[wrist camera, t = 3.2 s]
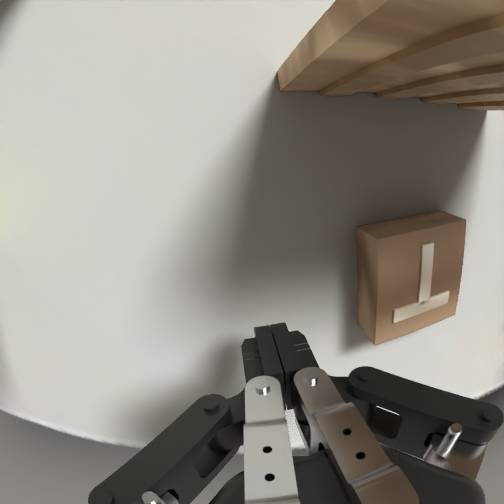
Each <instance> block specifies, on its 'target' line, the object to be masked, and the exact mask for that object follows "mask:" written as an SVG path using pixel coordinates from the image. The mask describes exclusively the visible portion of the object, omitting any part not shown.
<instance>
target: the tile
mask: <svg viewBox="0 0 504 504" xmlns="http://www.w3.org/2000/svg"><path fill="white" fill-rule="evenodd" d="M465 229H466V220H465V219H463V218H460V217H457V216H454V215H452V214H449V213H446V212H443V211H436V212H431V213H425V214H420V215H415V216H410V217H404V218H399V219H394V220H388V221H383V222H378V223H373V224H367V225H362V226H357V227H356V238H357V260H358V325H359V326H360V327H361V329H362V330H363V331H364V332H365V334H366V335H367V336H368V338H369V339H370V340H371V341H372V343H373V344H374V345H378V344H381V343H384V342H387V341H390V340H393V339H395V338H398V337H401V336H404V335H406V334H409V333H412V332H414V331H417V330H419V329H422V328H424V327H427V326H429V325H432V324H434V323H437V322H439V321H442V320H444V319H446V318H449V317H451V316H453V315H455V312H456V306H457V301H458V295H459V288H460V281H461V274H462V265H463V256H464V244H465Z"/></svg>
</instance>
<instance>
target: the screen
mask: <svg viewBox="0 0 504 504" xmlns="http://www.w3.org/2000/svg"><path fill="white" fill-rule="evenodd" d="M277 74H278V81H279V88H280V92H281V91H321V96H349V95H351V94H354V93H356V92H374V93H377V97H379V98H391V99H402V98H407V97H411V96H414V97H421V98H422V102H426V103H433V104H448V103H457V104H458V108H462V109H467V110H504V0H336V1H335V2H334V3H333V4H332V6H331V7H330V8H329V9H328V10H327V11H326V12H325V13H324V15H323V16H322V17H321V18H320V19H319V20H318V22H317V23H316V24H315V25H314V26H313V27H312V29H311V30H310V31H309V32H308V33H307V35H306V36H305V37H304V38H303V39H302V41H301V42H300V43H299V44H298V46H297V47H296V48H295V49H294V51H293V52H292V53H291V54H290V56H289V57H288V58H287V59H286V61H285V62H284V63H283V64H282V66H281V67H280V68H279V70H278V71H277Z"/></svg>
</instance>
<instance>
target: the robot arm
mask: <svg viewBox="0 0 504 504" xmlns="http://www.w3.org/2000/svg"><path fill="white" fill-rule="evenodd" d="M254 332H255V338H250V339H245V340H244V342H243V344H242V346H241V348H242V356H243V363H244V371H245V378H246V386H245V388H244V389H243V391H242V392H241V393H239V394H238V395H236V396H234V397H231V398H229V399H226V398H225V397H223V396H221V395H216V394H211V395H206V396H203V397H201V398H199V399H198V400H197V401H196V402H195V403H194V404H193V405H192V406H190V407H189V408H188V409H187V410H186V411H185V412H184V413H183V414H182V415H181V416H180V417H178V418H177V419H176V420H175V421H174V422H173V423H172V424H171V425H170V426H168V427H167V428H166V429H165V430H164V431H163V432H162V433H161V434H159V435H158V436H157V437H156V438H155V439H154V440H153V441H151V442H150V443H149V444H148V445H147V446H146V447H144V448H143V449H142V450H141V451H140V452H139V453H137V454H136V455H135V456H134V457H133V458H132V459H130V460H129V461H128V462H127V463H125V464H124V465H123V466H122V467H120V468H119V469H118V470H117V471H116V472H114V473H113V474H112V475H111V476H109V477H108V478H107V479H105V480H104V481H103V482H102V483H100V484H99V485H98V486H96V487H95V488H94V489H93V490H92V492H91V493H90V495H89V498H88V503H89V504H190V503H191V502H192V501H193V500H194V499H195V498H196V496H198V494H199V493H200V492H201V491H202V490H203V489H204V488H205V487H206V486H207V485H208V484H209V483H210V482H211V481H212V480H213V479H214V477H215V476H216V475H217V474H218V473H219V472H220V471H221V470H222V468H223V467H224V466H225V465H226V464H227V463H228V462H229V460H230V459H231V458H232V457H233V456H234V455H235V454H236V452H237V451H238V449H239V447H240V446H241V445H244V471H242V472H240V473H238V474H237V475H235V476H234V477H233V478H231V479H230V480H229V481H228V482H227V483H226V484H225V485H224V486H223V487H222V489H221V490H220V491H219V492H218V493H217V495H216V496H215V497H214V498H213V499H212V501H211V502H210V503H209V504H485V495H484V492H483V489H482V488H481V486H480V485H479V484H478V483H477V482H476V481H475V479H476V476H477V474H478V471H479V468H480V465H481V463H482V460H483V457H484V454H485V450H486V447H487V445H488V444H489V443H490V441H491V440H492V438H493V437H494V435H495V434H496V432H497V431H498V429H499V428H500V426H501V425H502V423H503V413H502V411H501V410H500V409H499V408H498V407H497V406H495V405H493V404H489V403H485V402H481V401H478V400H474V399H471V398H467V397H463V396H460V395H456V394H453V393H450V392H446V391H443V390H440V389H436V388H433V387H430V386H427V385H423V384H420V383H417V382H414V381H411V380H408V379H405V378H402V377H399V376H396V375H393V374H390V373H387V372H384V371H381V370H379V369H376V368H373V367H368V366H364V367H358V368H356V369H354V370H353V371H352V372H351V373H350V374H349V377H334V376H330V375H328V374H327V373H326V372H325V371H324V370H323V369H320V368H319V366H318V364H317V361H316V359H315V357H314V355H313V353H312V351H311V349H310V346H309V344H308V342H307V340H306V338H305V336H304V335H303V334H302V333H300V332H299V331H298V330H297V331H292V332H289V331H288V328H287V326H286V323H285V322H284V323H278V324H272V325H270V327H269V325H267V326H260V327H254ZM286 406H287V410H290V409H294V413H295V422H296V425H297V428H298V430H299V432H300V435H301V437H302V440H303V442H304V445H305V447H306V449H307V452H308V455H309V456H292V451H291V445H290V439H289V432H288V426H287V420H286V419H285V412H284V411H285V410H286ZM376 406H379V407H382V408H385V409H387V410H390V411H393V412H395V413H398V414H399V415H400V416H399V415H397V414H394V413H391V412H389V411H386V410H383V409H381V408H378V407H376ZM379 442H380V443H383V444H385V445H382V444H379ZM386 445H387V446H386ZM389 446H390V447H389ZM391 447H393V448H395V449H393V448H391ZM396 449H398V450H400V451H403V452H405V453H408V454H411V455H414V456H416V457H419V458H422V459H423V460H424V461H423V460H420V459H417V458H415V457H412V456H410V455H408V454H405V453H403V452H400V451H398V450H396Z"/></svg>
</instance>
